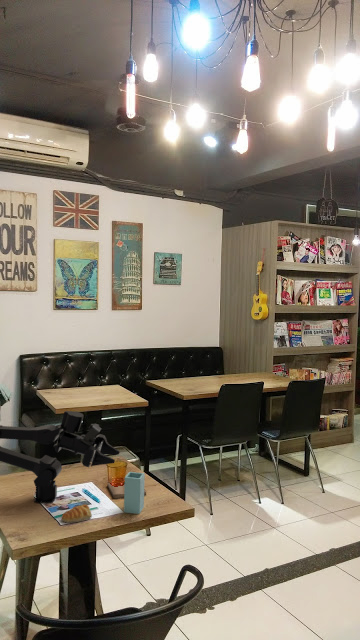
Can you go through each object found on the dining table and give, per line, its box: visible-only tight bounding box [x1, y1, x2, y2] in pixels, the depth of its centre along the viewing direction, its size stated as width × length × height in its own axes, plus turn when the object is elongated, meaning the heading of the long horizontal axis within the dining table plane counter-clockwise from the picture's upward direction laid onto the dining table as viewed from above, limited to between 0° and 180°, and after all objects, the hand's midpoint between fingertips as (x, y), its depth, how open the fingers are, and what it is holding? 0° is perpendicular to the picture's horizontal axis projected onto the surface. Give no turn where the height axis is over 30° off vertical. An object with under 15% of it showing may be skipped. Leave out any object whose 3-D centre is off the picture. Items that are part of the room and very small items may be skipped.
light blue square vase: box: [123, 471, 145, 515], centre depth 167 cm, size 6×6×12 cm
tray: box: [107, 482, 147, 500], centre depth 183 cm, size 12×12×2 cm
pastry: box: [61, 504, 92, 524], centre depth 160 cm, size 9×7×4 cm
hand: (117, 457), depth 171 cm, fingers open, 9 cm apart
